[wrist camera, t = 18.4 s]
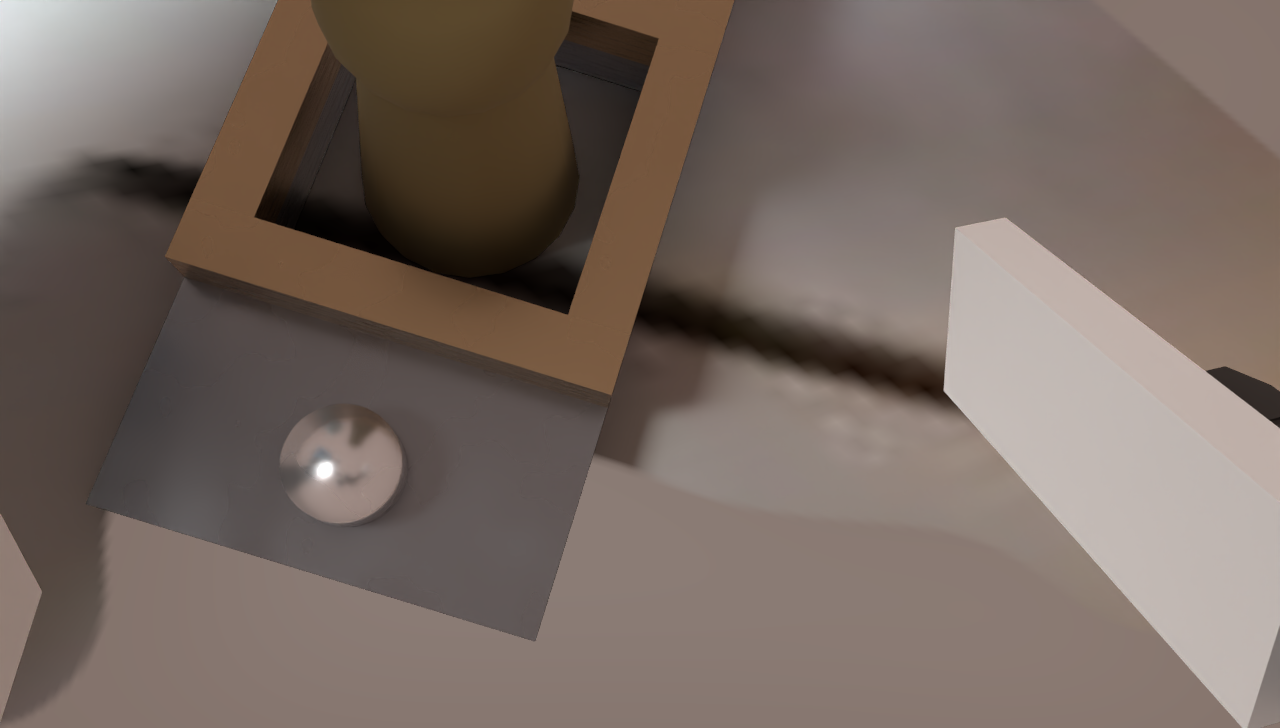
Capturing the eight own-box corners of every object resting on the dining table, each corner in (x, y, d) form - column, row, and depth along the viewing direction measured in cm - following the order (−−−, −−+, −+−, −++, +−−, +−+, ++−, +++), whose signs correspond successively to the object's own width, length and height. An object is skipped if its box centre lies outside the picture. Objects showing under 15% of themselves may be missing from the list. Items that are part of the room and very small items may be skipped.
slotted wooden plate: (535, 641, 28) (534, 641, 24) (109, 511, 27) (35, 488, 23) (766, -103, 34) (797, -204, 30) (418, -213, 34) (402, -330, 29)
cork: (606, 115, 31) (641, -155, 21) (540, 305, 30) (542, 119, 19) (405, 51, 31) (337, -252, 21) (329, 238, 30) (213, 15, 19)
